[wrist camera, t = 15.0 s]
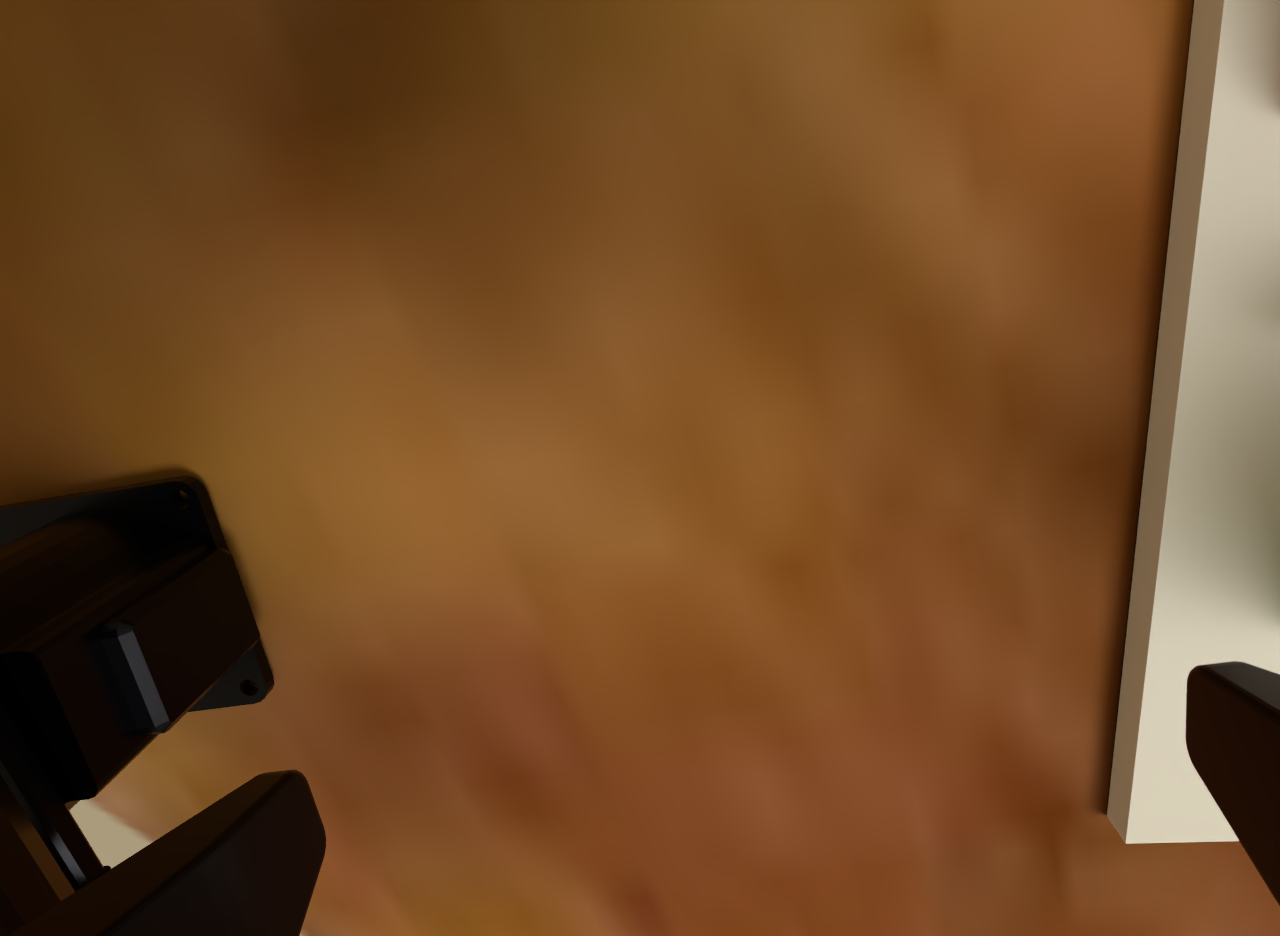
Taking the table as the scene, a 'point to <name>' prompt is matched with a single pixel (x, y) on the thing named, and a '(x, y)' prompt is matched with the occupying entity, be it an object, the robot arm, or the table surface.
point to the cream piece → (1208, 428)
